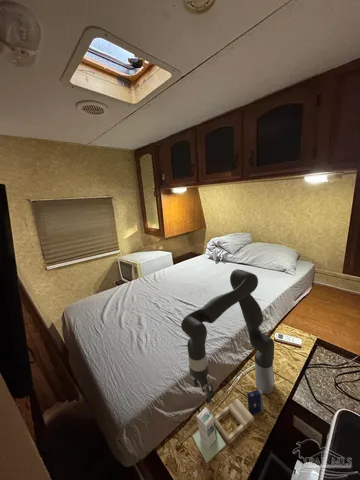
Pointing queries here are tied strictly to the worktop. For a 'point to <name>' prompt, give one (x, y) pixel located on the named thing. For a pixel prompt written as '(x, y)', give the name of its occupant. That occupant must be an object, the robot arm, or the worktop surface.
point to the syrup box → (207, 428)
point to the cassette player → (255, 401)
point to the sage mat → (214, 449)
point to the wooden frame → (239, 414)
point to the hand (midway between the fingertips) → (202, 393)
